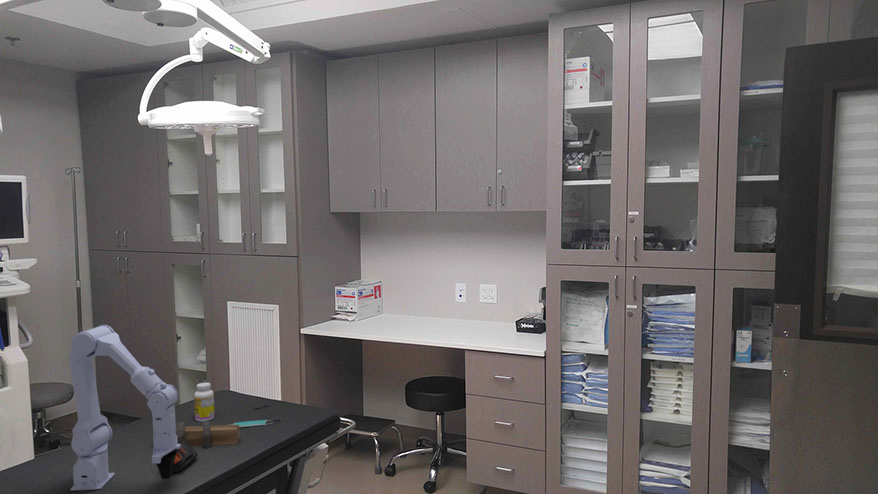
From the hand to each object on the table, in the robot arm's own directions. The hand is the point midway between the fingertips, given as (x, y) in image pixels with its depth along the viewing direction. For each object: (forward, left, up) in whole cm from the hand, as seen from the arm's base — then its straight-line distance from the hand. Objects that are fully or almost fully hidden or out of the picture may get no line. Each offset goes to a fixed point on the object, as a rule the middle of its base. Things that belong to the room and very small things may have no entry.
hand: (166, 477), depth 171 cm
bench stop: (+28, 0, -2) cm, 28 cm away
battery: (+12, 0, -2) cm, 12 cm away
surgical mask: (+44, -14, -2) cm, 46 cm away
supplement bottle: (+52, +4, -2) cm, 52 cm away
